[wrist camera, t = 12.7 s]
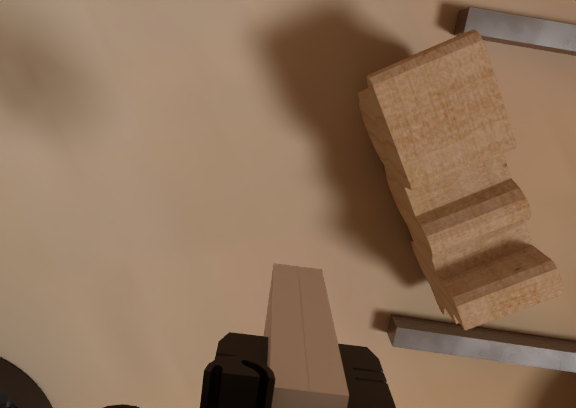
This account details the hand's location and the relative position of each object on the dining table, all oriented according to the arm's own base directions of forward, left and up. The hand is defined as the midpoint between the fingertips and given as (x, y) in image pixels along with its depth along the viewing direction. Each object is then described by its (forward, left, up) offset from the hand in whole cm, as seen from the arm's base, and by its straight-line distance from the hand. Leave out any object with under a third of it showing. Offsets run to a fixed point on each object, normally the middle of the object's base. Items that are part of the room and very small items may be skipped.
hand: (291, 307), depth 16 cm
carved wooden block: (+10, +2, -21) cm, 23 cm away
